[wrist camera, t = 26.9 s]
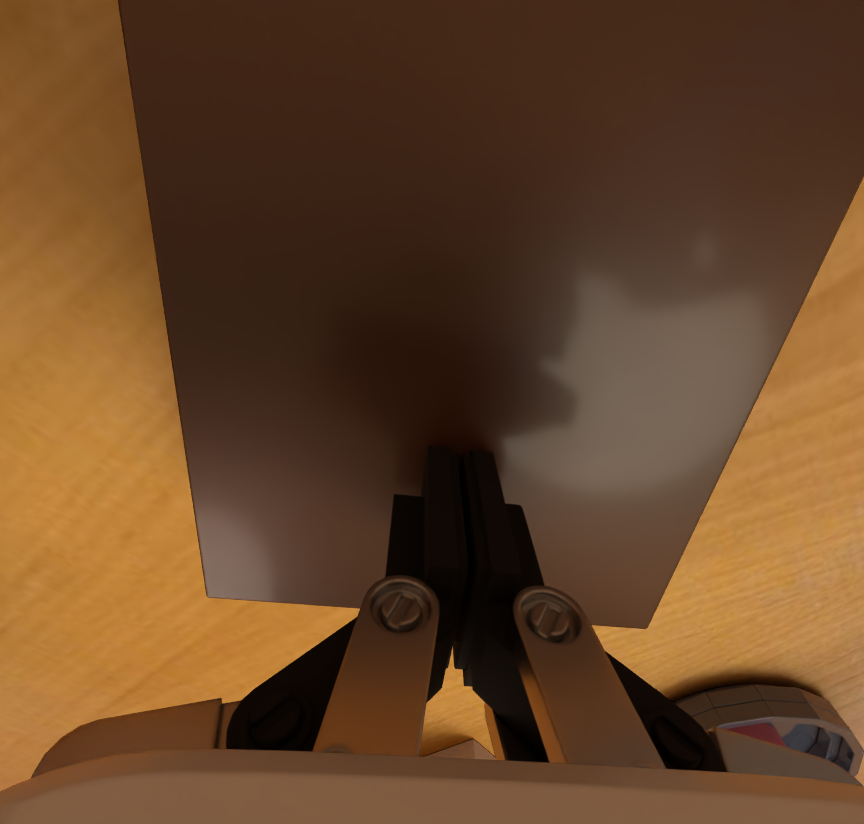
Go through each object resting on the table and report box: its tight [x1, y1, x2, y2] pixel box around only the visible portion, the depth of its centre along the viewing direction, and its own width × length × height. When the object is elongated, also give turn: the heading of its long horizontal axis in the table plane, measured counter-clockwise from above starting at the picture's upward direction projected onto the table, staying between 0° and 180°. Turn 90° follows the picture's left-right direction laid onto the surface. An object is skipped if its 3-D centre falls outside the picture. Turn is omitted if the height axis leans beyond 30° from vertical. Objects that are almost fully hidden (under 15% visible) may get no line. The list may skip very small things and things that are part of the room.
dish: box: [673, 684, 864, 777], centre depth 26 cm, size 12×12×2 cm
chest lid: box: [118, 0, 864, 629], centre depth 11 cm, size 16×14×1 cm
